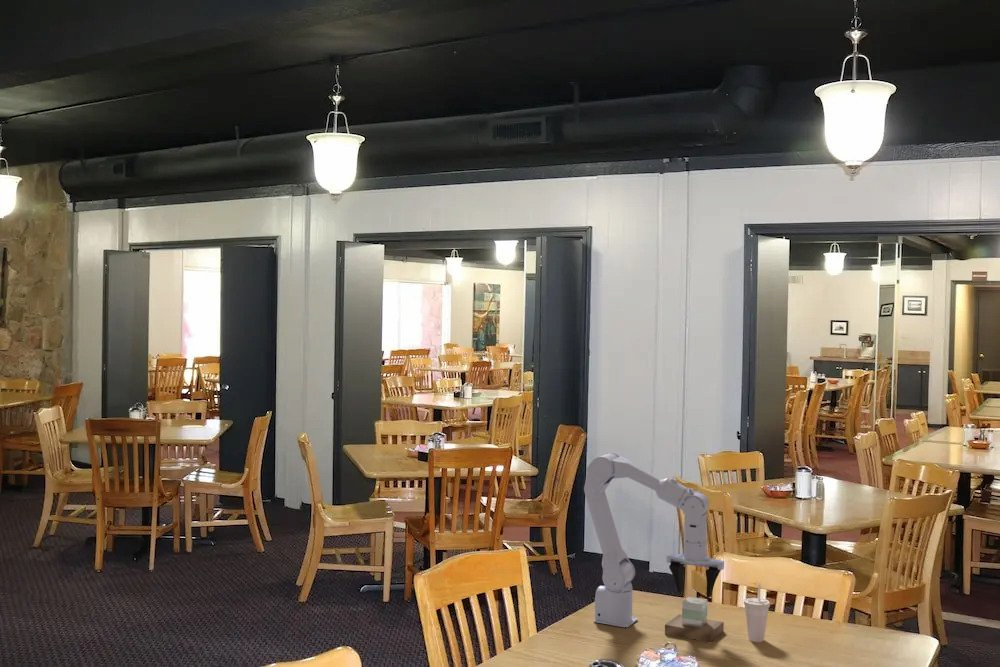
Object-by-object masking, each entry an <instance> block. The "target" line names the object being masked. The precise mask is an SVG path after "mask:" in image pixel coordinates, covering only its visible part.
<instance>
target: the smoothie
mask: <svg viewBox="0 0 1000 667" xmlns="http://www.w3.org/2000/svg"><path fill="white" fill-rule="evenodd" d="M743 605H744V610H745V617H746V627H747V636H748V640H749V641H750V642H753V643H763V642H765V636H766V628H767V620H768V613H769V608H770V607H771V604H770V601H769V600H768V599H766V598H762V597H761V583H758V584H757V597H746V598H744V599H743ZM762 641H763V642H762Z"/></svg>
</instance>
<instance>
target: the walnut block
mask: <svg viewBox="0 0 1000 667" xmlns="http://www.w3.org/2000/svg"><path fill="white" fill-rule="evenodd" d="M724 624H725V622H724V621H719V620H714V619H713V620H712V619H708V618H707V623H706V624H705V625H704V626H703V627H702V628H697V627H691V626H685V625H682V614H678V615H676V616H675V617H673V618H672V619H671V620H669V621H667V622H666V623H665V624H664V635H666V634H667V635H666V636H672V635H673V637H677V636H678V638H682V637H684V638H683V639H688V638H690V639H689V640H693V639H696V640H695V641H698V640H701V641H700V642H704V641H705V643H709V642H711V643H712V642H714V641H715V640H716V639H717V638H718V637H719V636H721V635H722V634H723V633H724V631H725V630H724V628H725V627H724ZM715 638H716V639H715Z"/></svg>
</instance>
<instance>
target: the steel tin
mask: <svg viewBox="0 0 1000 667" xmlns="http://www.w3.org/2000/svg"><path fill="white" fill-rule="evenodd" d="M681 611H682V613H681V615H682V625H685V626H691V627H697V628H702V627H703V626H704V625H705V624H706V623H707V619H708V599H707V598H701V597H694V596H687V597H685V599H683V601H682V608H681Z"/></svg>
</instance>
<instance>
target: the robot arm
mask: <svg viewBox="0 0 1000 667" xmlns="http://www.w3.org/2000/svg"><path fill="white" fill-rule="evenodd" d="M623 478H628V479H630V480H633V481H635V482H636V483H638V484H641V485H643V486H645V487H647V488H649V489H651V490H653V491H655V493H656V496H657V498H658V499H660V500H662V501H664V502H665V503H668V504H669V505H672V506H673V507H674V508H677V509H679V510H681V511H682V513H683V514H684V522H683V523H684V524H683V553H682V554H681V553H680V554H679V553H668V554H666V563H668V564H669V566H668V567H669V568H668V569H669V570H670V572H671V574H672V577H673V579H674V581H675V586H676V590H677V593H679V594H680V593H682V592H683V590H684V571H685V565H688V566H693V567H694V566H695V567H701V568H707V569H705V577H706V592H705V593H706V598H711V597H713V596H712V595H713V591H714V588H715V583H716V581H717V578H718V577H719V575H720V572H721V571H723V570H724V569H725V560H720V559H716V558H712V557H708V556H707V553H708V552H707V550H708V549H707V548H708V547H707V546H708V537H707V536H708V522H707V520H708V519H707V518H708V517H707V511H708V510H709V507H710V500H709V498H708V496H707V495H705V493H703V492H702V491H699V490H698V491H697V490H696V491H695V489H694V488H692V487H686V486H685V485H683V484H681V483H679V482H678V479H676V478H675V477H672V478H669V477H666V478H662V479H661V478H660V477H658V476H656V475H654V474H653V473H651V472H649V471H648V470H646V469H645V468H643V467H641V466H639V465H638V464H636V463H635V462H633V461H631V460H630V459H628V458H626V457H624V456H620V455H619V454H617V453H615V452H607V453H605V454H604V455H603V454H602V455H600V456H597V457H595V458H593V459H592V461H591V462H590V464H588V466H587V467H586V477H585V481H584V482H585V483H584V486H583V492H584V496H585V499H586V502H587V505H588V510H589V512H590V516H591V519H592V522H593V527H594V529H595V532H596V537H597V539H598V542H599V546H600V550H601V554H602V561H601V567H602V576H601V578H602V582H603V584H604V585H599V586H598V587H597V588H596V590H595V595H594V596H595V597H594V619H593V622H594V623H599V624H604V625H609V626H614V627H620V628H625V627H626V628H629V627H630V626H631V625H633V624H634V623H635V622H638V617H634V616H633V588H634V587H633V584H632V580H634V579H635V576H636V569H635V566H634V564H633V563H632V562H631V561H630V559H629V557H628V554H627V553H626V551H625V550H624V549H623V548H622V545H621V541H620V537H619V535H618V530H617V528H616V525H615V520H614V517H613V514H612V511H611V508H610V505H609V501H608V498H607V494H606V490H607V488H608V487H609V485H610V483H611V482H612V480H614V479H623ZM626 628H625V629H626Z"/></svg>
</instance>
